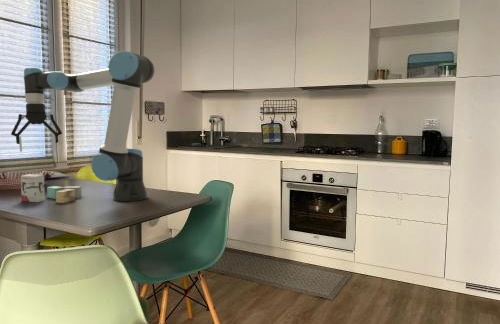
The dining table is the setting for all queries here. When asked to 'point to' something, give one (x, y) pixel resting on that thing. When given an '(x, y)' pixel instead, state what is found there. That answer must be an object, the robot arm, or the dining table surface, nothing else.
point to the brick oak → (65, 195)
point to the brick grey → (77, 190)
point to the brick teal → (53, 191)
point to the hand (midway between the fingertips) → (38, 150)
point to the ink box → (32, 188)
